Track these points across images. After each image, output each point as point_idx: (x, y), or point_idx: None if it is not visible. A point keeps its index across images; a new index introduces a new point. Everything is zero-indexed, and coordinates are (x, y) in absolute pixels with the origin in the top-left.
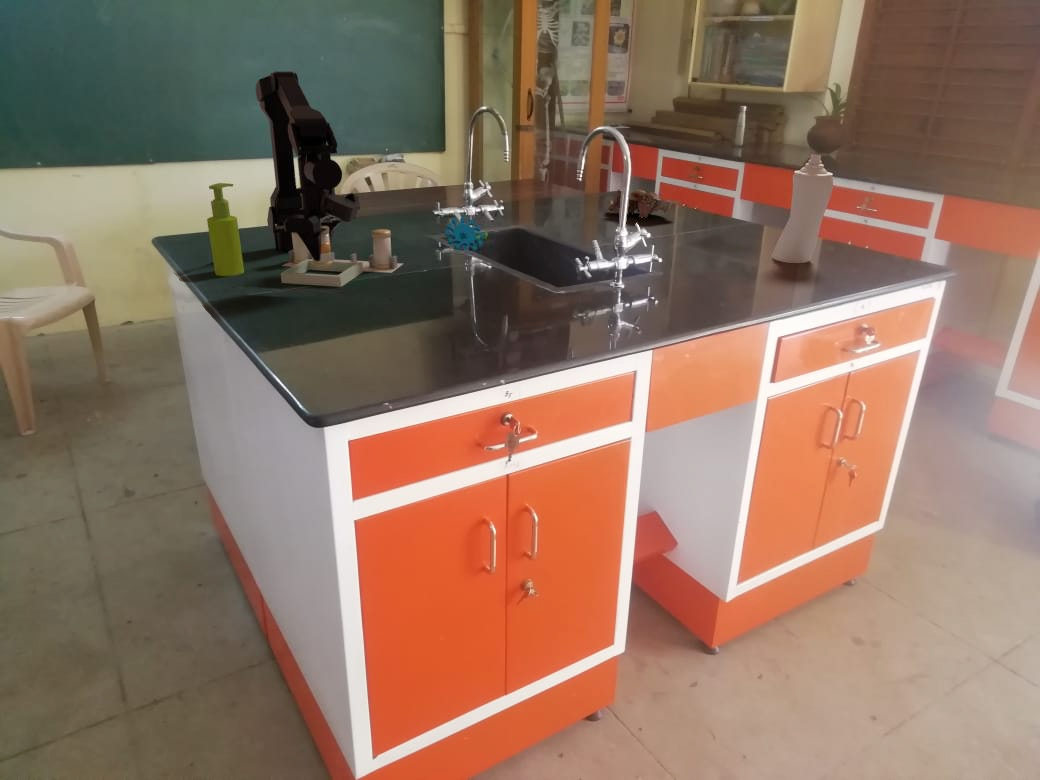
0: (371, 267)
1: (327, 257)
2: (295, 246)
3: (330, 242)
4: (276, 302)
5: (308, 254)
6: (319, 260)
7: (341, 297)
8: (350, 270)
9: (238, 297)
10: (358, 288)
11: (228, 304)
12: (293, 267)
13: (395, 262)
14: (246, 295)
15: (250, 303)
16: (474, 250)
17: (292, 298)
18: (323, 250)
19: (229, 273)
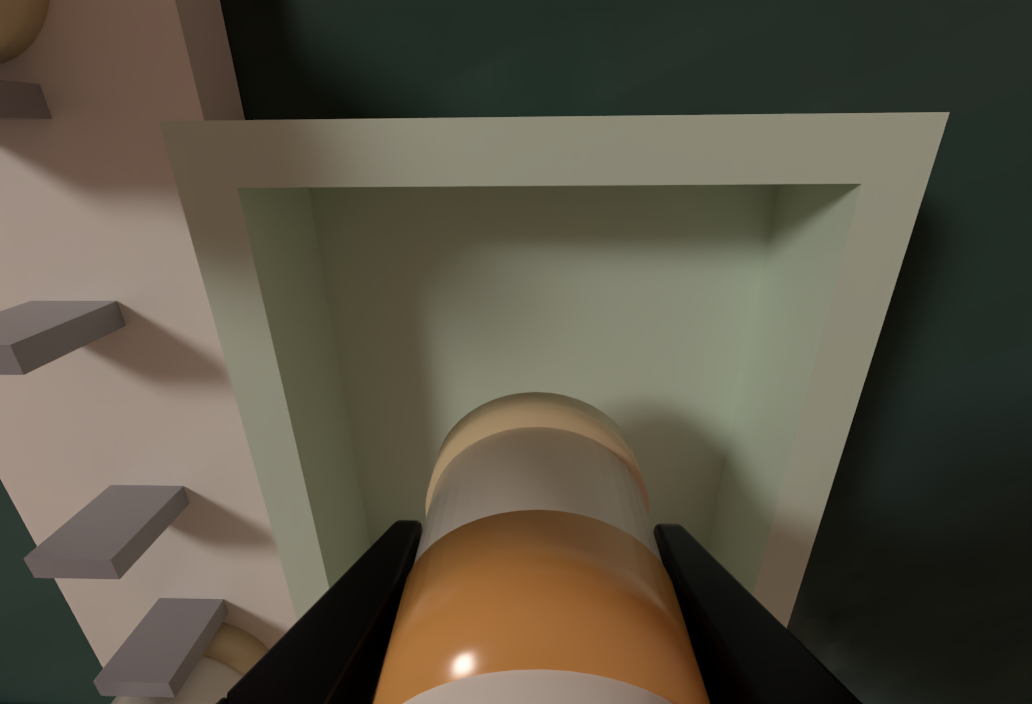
0: (40, 89)
1: (596, 478)
2: None
3: (294, 657)
4: (1028, 497)
5: (182, 693)
6: (675, 524)
7: (952, 65)
8: (588, 116)
9: (886, 689)
10: (619, 18)
11: (1023, 683)
12: None
13: None
14: (847, 673)
15: (1023, 608)
16: None
17: (938, 444)
18: (668, 594)
19: None
